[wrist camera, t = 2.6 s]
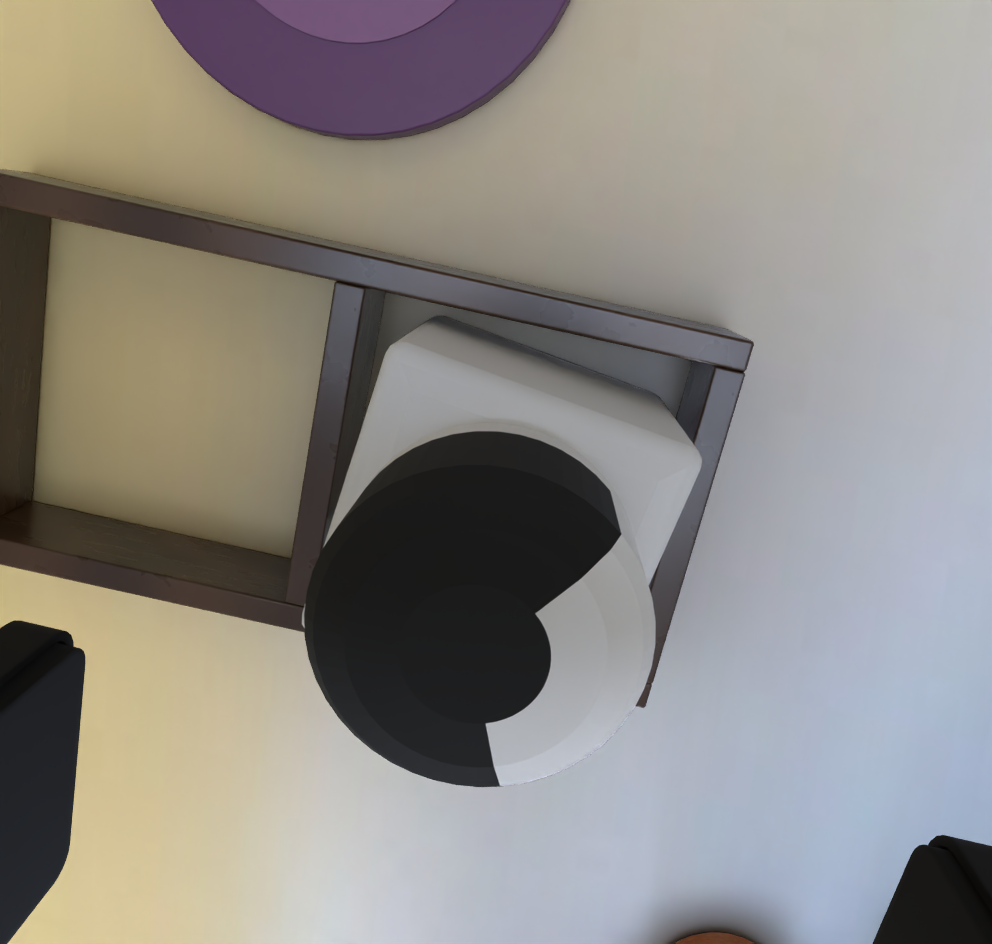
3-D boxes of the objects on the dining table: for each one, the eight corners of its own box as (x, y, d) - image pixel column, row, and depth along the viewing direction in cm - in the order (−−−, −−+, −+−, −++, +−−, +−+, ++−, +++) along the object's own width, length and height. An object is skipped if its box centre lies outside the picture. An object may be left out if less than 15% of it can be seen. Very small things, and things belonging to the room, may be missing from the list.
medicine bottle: (360, 530, 26) (210, 761, 14) (432, 310, 24) (328, 374, 13) (575, 607, 26) (598, 895, 15) (664, 395, 24) (771, 536, 13)
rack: (6, 518, 27) (-59, 552, 24) (26, 172, 24) (-46, 162, 21) (634, 658, 27) (645, 709, 24) (729, 329, 24) (755, 342, 21)
